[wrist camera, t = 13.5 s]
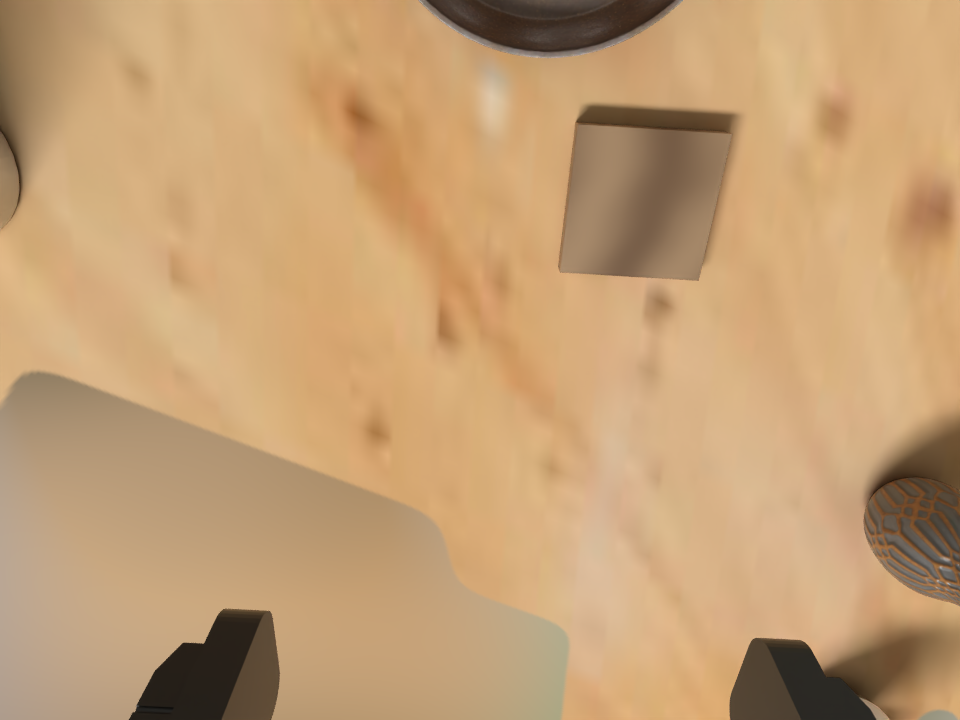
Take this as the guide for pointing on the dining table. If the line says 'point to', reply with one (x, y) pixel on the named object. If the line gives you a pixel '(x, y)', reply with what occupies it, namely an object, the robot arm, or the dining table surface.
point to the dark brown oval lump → (917, 535)
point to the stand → (641, 200)
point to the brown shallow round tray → (549, 23)
